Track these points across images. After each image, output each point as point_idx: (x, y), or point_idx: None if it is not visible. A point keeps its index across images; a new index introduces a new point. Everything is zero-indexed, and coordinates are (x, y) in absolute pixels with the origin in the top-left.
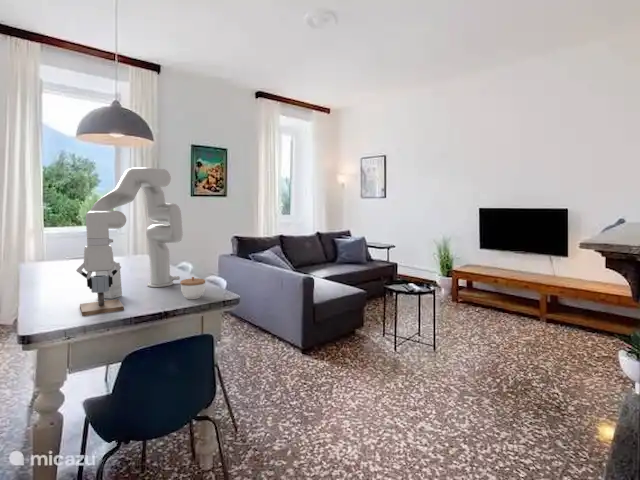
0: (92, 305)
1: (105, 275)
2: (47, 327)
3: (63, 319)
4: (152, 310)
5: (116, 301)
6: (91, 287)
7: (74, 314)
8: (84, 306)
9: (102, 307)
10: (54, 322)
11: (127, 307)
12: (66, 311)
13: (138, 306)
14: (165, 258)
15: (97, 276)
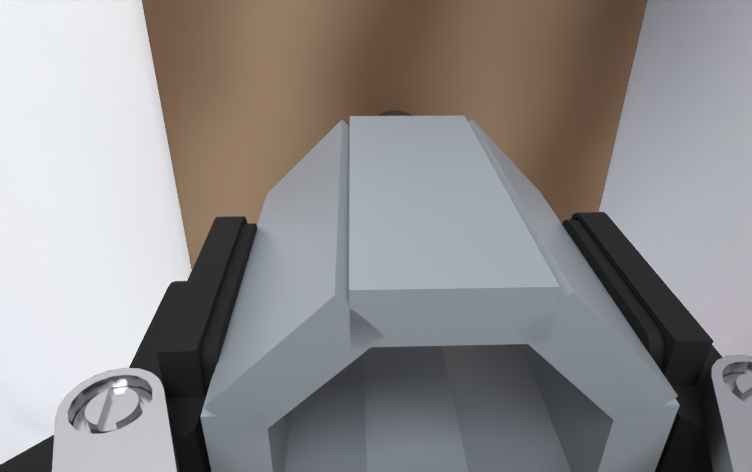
0: (295, 96)
1: (606, 406)
2: (5, 449)
3: (65, 318)
4: None
5: (594, 43)
6: None
7: (129, 204)
8: (203, 93)
9: None
10: (14, 364)
11: (626, 213)
12: (4, 11)
13: (723, 233)
14: None
15: (396, 322)
